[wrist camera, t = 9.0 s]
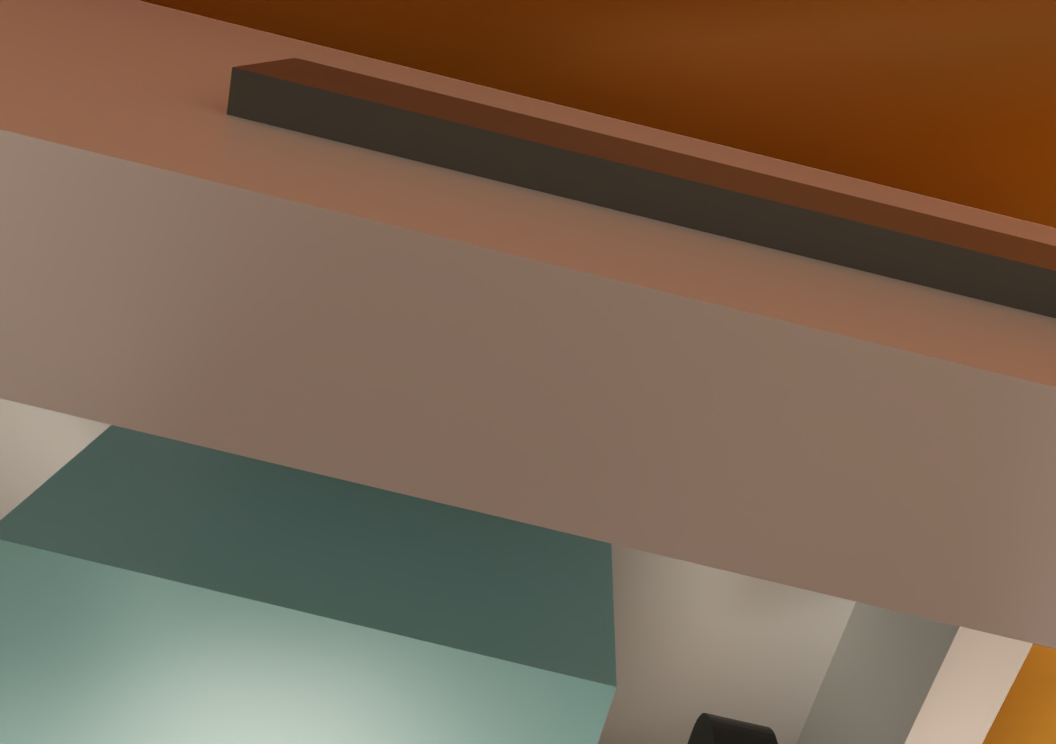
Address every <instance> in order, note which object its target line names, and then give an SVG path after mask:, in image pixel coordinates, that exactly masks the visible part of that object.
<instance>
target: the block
mask: <svg viewBox="0 0 1056 744" xmlns="http://www.w3.org/2000/svg"><path fill="white" fill-rule="evenodd" d="M616 688H617V680H616V654H615V628H614V601H613V575H612V549H611V543H607V542H603V541H599V540H594V539H590V538H586V537H582V536H578V535H573V534H569V533H565V532H561V531H556V530H552V529H548V528H544V527H540V526H535V525H531V524H527V523H523V522H519V521H514V520H510V519H506V518H502V517H498V516H493V515H489V514H485V513H481V512H476V511H472V510H468V509H464V508H460V507H455V506H451V505H447V504H443V503H439V502H434V501H430V500H426V499H422V498H418V497H413V496H409V495H405V494H401V493H396V492H392V491H388V490H384V489H380V488H375V487H371V486H367V485H363V484H359V483H354V482H350V481H346V480H342V479H338V478H333V477H329V476H325V475H321V474H316V473H312V472H308V471H304V470H300V469H295V468H291V467H287V466H283V465H279V464H274V463H270V462H266V461H262V460H258V459H253V458H249V457H245V456H241V455H236V454H232V453H228V452H224V451H220V450H215V449H211V448H207V447H203V446H199V445H194V444H190V443H186V442H182V441H178V440H173V439H169V438H165V437H161V436H157V435H152V434H148V433H144V432H140V431H135V430H131V429H127V428H123V427H119V426H114V425H111V426H110V427H108V428H107V429H106V430H105V431H104V432H103V433H101V434H100V435H99V436H98V437H97V438H96V439H94V440H93V441H92V442H91V443H90V444H89V445H87V446H86V447H85V448H84V449H83V450H82V451H81V452H79V453H78V454H77V455H76V456H75V457H74V458H72V459H71V460H70V461H69V462H68V463H67V464H65V465H64V466H63V467H62V468H61V469H60V470H58V471H57V472H56V473H55V474H54V475H53V476H51V477H50V478H49V479H48V480H47V481H46V482H44V483H43V484H42V485H41V486H40V487H39V488H37V489H36V490H35V491H34V492H33V493H32V494H30V495H29V496H28V497H27V498H26V499H25V500H23V501H22V502H21V503H20V504H19V505H18V506H17V507H15V508H14V509H13V510H12V511H11V512H10V513H8V514H7V515H6V516H5V517H4V518H3V519H1V520H0V744H598V741H599V738H600V736H601V733H602V730H603V727H604V724H605V721H606V718H607V715H608V712H609V709H610V706H611V703H612V700H613V697H614V694H615V691H616Z"/></svg>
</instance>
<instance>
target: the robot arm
mask: <svg viewBox="0 0 1056 744" xmlns="http://www.w3.org/2000/svg"><path fill="white" fill-rule="evenodd" d="M688 744H778V742H777V739H776V736H775V733H774V731H773V730H772V729H771V728H769V727H766V726H762V725H757V724H753V723H748V722H744V721H739V720H735V719H730V718H726V717H721V716H717V715H713V714H708V713H702V714H701V715H700V716H699V717H698V719H697V721H696V722H695V725H694V727H693V730H692V732H691V735H690V738H689V741H688Z"/></svg>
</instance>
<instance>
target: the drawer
mask: <svg viewBox="0 0 1056 744" xmlns="http://www.w3.org/2000/svg"><path fill="white" fill-rule="evenodd" d="M111 425H114V426H119V427H123V428H127V429H131V430H135V431H140V432H144V433H148V434H152V435H157V436H161V437H165V438H169V439H173V440H178V441H182V442H186V443H190V444H194V445H199V446H203V447H207V448H211V449H215V450H220V451H224V452H228V453H232V454H236V455H241V456H245V457H249V458H253V459H258V460H262V461H266V462H270V463H274V464H279V465H283V466H287V467H291V468H295V469H300V470H304V471H308V472H312V473H316V474H321V475H325V476H329V477H333V478H338V479H342V480H346V481H350V482H354V483H359V484H363V485H367V486H371V487H375V488H380V489H384V490H388V491H392V492H396V493H401V494H405V495H409V496H413V497H418V498H422V499H426V500H430V501H434V502H439V503H443V504H447V505H451V506H455V507H460V508H464V509H468V510H472V511H476V512H481V513H485V514H489V515H493V516H498V517H502V518H506V519H510V520H514V521H519V522H523V523H527V524H531V525H535V526H540V527H544V528H548V529H552V530H556V531H561V532H565V533H569V534H573V535H578V536H582V537H586V538H590V539H594V540H599V541H603V542H607V543H611V549H612V575H613V601H614V628H615V654H616V680H617V688H616V691H615V694H614V697H613V700H612V703H611V706H610V709H609V712H608V715H607V718H606V721H605V724H604V727H603V730H602V733H601V736H600V738H599V741H598V744H688V741H689V738H690V735H691V732H692V730H693V727H694V725H695V722H696V721H697V719H698V717H699V716H700V715H701V714H702V713H708V714H713V715H717V716H721V717H726V718H730V719H735V720H739V721H744V722H748V723H753V724H757V725H762V726H766V727H769V728H771V729H772V730H773V731H774V733H775V736H776V739H777V742H778V744H982V743H983V741H984V739H985V737H986V735H987V733H988V731H989V729H990V727H991V725H992V723H993V721H994V720H995V718H996V716H997V714H998V712H999V710H1000V708H1001V706H1002V704H1003V702H1004V700H1005V698H1006V696H1007V694H1008V692H1009V690H1010V688H1011V686H1012V684H1013V682H1014V680H1015V678H1016V676H1017V674H1018V672H1019V671H1020V669H1021V667H1022V665H1023V663H1024V661H1025V659H1026V657H1027V655H1028V653H1029V651H1030V649H1031V647H1032V645H1033V644H1036V645H1041V646H1045V647H1049V648H1053V649H1056V228H1054V227H1050V226H1046V225H1042V224H1038V223H1034V222H1030V221H1026V220H1022V219H1018V218H1014V217H1010V216H1006V215H1002V214H998V213H994V212H990V211H986V210H982V209H978V208H974V207H970V206H966V205H962V204H958V203H954V202H950V201H946V200H942V199H938V198H934V197H929V196H925V195H921V194H917V193H913V192H909V191H905V190H901V189H897V188H893V187H889V186H885V185H881V184H877V183H873V182H869V181H865V180H861V179H857V178H853V177H849V176H845V175H841V174H837V173H833V172H829V171H825V170H821V169H817V168H813V167H809V166H805V165H801V164H797V163H793V162H789V161H785V160H781V159H776V158H772V157H768V156H764V155H760V154H756V153H752V152H748V151H744V150H740V149H736V148H732V147H728V146H724V145H720V144H716V143H712V142H708V141H704V140H700V139H696V138H692V137H688V136H684V135H680V134H676V133H672V132H668V131H664V130H660V129H656V128H652V127H648V126H644V125H640V124H636V123H632V122H628V121H624V120H619V119H615V118H611V117H607V116H603V115H599V114H595V113H591V112H587V111H583V110H579V109H575V108H571V107H567V106H563V105H559V104H555V103H551V102H547V101H543V100H539V99H535V98H531V97H527V96H523V95H519V94H515V93H511V92H507V91H503V90H499V89H495V88H491V87H487V86H483V85H479V84H475V83H471V82H466V81H462V80H458V79H454V78H450V77H446V76H442V75H438V74H434V73H430V72H426V71H422V70H418V69H414V68H410V67H406V66H402V65H398V64H394V63H390V62H386V61H382V60H378V59H374V58H370V57H366V56H362V55H358V54H354V53H350V52H346V51H342V50H338V49H334V48H330V47H326V46H322V45H318V44H313V43H309V42H305V41H301V40H297V39H293V38H289V37H285V36H281V35H277V34H273V33H269V32H265V31H261V30H257V29H253V28H249V27H245V26H241V25H237V24H233V23H229V22H225V21H221V20H217V19H213V18H209V17H205V16H201V15H197V14H193V13H189V12H185V11H181V10H177V9H173V8H169V7H165V6H161V5H156V4H152V3H148V2H144V1H140V0H0V520H1V519H3V518H4V517H5V516H6V515H7V514H8V513H10V512H11V511H12V510H13V509H14V508H15V507H17V506H18V505H19V504H20V503H21V502H22V501H23V500H25V499H26V498H27V497H28V496H29V495H30V494H32V493H33V492H34V491H35V490H36V489H37V488H39V487H40V486H41V485H42V484H43V483H44V482H46V481H47V480H48V479H49V478H50V477H51V476H53V475H54V474H55V473H56V472H57V471H58V470H60V469H61V468H62V467H63V466H64V465H65V464H67V463H68V462H69V461H70V460H71V459H72V458H74V457H75V456H76V455H77V454H78V453H79V452H81V451H82V450H83V449H84V448H85V447H86V446H87V445H89V444H90V443H91V442H92V441H93V440H94V439H96V438H97V437H98V436H99V435H100V434H101V433H103V432H104V431H105V430H106V429H107V428H108V427H110V426H111Z"/></svg>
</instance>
